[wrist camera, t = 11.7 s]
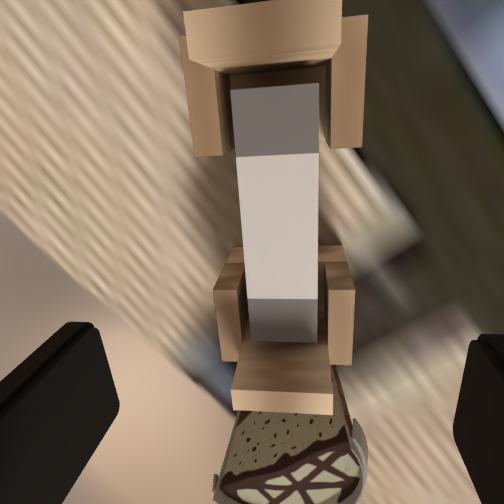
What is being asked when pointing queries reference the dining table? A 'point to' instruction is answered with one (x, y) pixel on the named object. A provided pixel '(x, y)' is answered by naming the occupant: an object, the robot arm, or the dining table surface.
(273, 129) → the bed rail
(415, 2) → the dining table surface
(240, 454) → the food container
